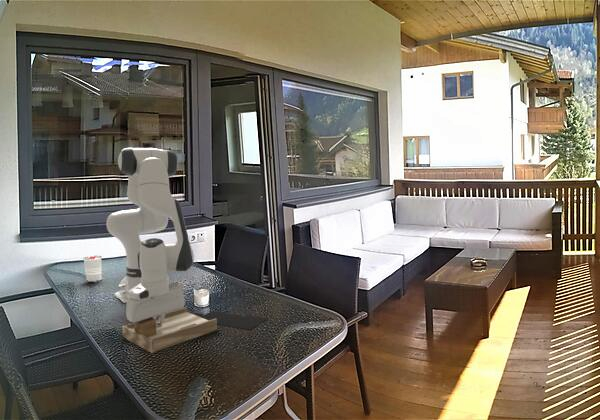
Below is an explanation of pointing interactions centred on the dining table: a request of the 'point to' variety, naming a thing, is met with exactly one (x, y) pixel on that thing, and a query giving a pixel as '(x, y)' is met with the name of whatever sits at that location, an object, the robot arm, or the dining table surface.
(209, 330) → the box
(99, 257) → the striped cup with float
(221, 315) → the black flat board
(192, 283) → the dining table surface
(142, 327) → the block
